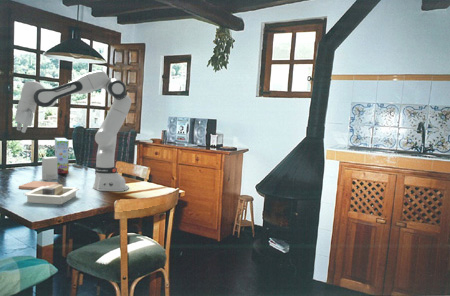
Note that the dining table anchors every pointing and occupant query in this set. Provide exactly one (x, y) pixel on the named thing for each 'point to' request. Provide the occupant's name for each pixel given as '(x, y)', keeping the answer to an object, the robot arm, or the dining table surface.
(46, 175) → the skincare box
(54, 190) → the box
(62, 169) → the snack box
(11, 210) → the dining table surface
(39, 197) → the white square tray
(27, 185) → the terracotta tile
